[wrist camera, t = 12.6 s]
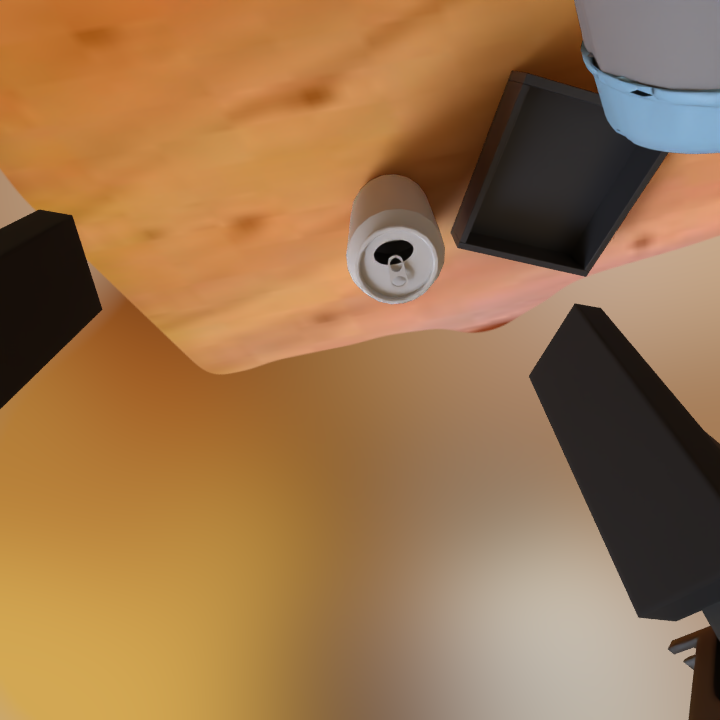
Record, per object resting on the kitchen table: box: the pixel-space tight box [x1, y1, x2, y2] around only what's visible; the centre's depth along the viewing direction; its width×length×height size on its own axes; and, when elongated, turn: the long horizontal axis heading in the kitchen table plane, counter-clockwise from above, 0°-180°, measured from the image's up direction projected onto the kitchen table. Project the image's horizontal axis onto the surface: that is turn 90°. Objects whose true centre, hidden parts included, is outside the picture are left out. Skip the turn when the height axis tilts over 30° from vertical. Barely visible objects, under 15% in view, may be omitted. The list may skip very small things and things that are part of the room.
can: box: [346, 174, 445, 304], centre depth 32 cm, size 8×8×12 cm
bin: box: [451, 71, 669, 277], centre depth 33 cm, size 13×13×4 cm
